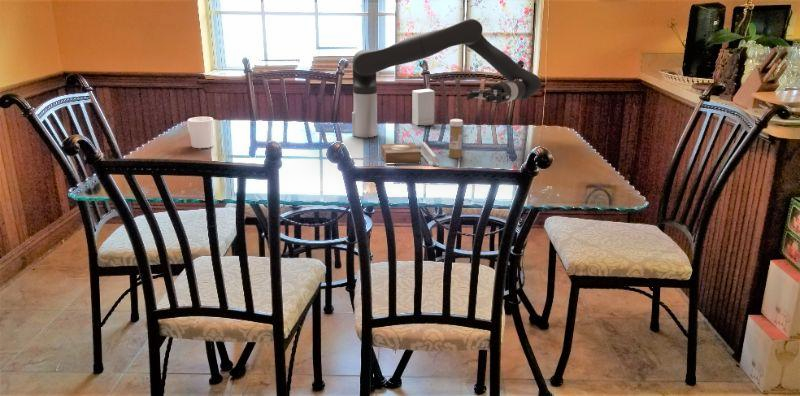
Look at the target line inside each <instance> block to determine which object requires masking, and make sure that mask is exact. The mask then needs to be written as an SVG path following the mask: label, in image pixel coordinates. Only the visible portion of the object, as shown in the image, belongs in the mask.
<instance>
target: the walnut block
mask: <svg viewBox="0 0 800 396" xmlns="http://www.w3.org/2000/svg"><path fill="white" fill-rule="evenodd" d="M420 150H421V149H419V148H418V147H417V145H416V144H415V143H414V142H413V143H410V142H409V143H385V144H381V145H380V155H382V156H381V158H382V157H383V158H384V160H385V161H384V160H383V161H384V163H385V162H386V163H410V164H409V165H411V163H415V164H420V163H419V162H421V163H422V155H421V151H420ZM383 158H382V159H383ZM386 163H385V164H386Z"/></svg>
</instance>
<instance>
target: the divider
mask: <svg viewBox="0 0 800 396" xmlns="http://www.w3.org/2000/svg"><path fill="white" fill-rule="evenodd" d="M419 150H420V151H421V157H422V158H423V160H424V161H425V162H426V161H427V162H428V163H427V162H426V163H427V164H428V166H429V165H430V166H429V167H439V166H440V164H439V163H438V162H437V155H436V154H435V153H434V151H433V150H432V149H431V148H430V147H429V146H428V144H427V143H426V142H425V141H420V149H419Z"/></svg>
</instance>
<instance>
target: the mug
mask: <svg viewBox="0 0 800 396" xmlns="http://www.w3.org/2000/svg"><path fill="white" fill-rule="evenodd" d="M186 126H187V130H188V131H187V132H188V133H189V136H190V143H191V144H190V145H191V147H192V148H193V147H195V148H208V149H211V148H210V147H212V148H213V146H215V127H214V126H215V125H214V118H213V117H210V116H195V117H190V118H188V119H187V121H186Z"/></svg>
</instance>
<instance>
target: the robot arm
mask: <svg viewBox="0 0 800 396" xmlns="http://www.w3.org/2000/svg"><path fill="white" fill-rule="evenodd" d="M459 45H464V46H465V47H467V48H468V49H470V50H472V51H473V52H475V53H476V54H477V55H479V56H480V57H482V59H484V60H485V61H486V62H487V63H488V64H489V65H490V66H491V67H492V68H493V69H495V70H496V71H497V72H498V73H499V74H500V75H501V76H502V77H503V78H504V79H506V80H505V81H501V82H496V83H493V84H492V85H491V86H490V87H489V88H485V89H482V88H476V89H470V90H469V92H467V94H466V99H467V100H473V99H478V100H485V103H494V104H500V105H501V104H503V103H507V102H511V101H513V100H521V101H526V100H528V99H530V98H531V97H533V95H535V94H536V92H538V91H539V90H540V89H541V88H542V80H541V78H540V77H539V76H538V75H536V74H535V73H533V72H531V71H529V70H527V69H525V68H523V66H520V65H519V64H518V63H517V62H516V61H515V60H514V59H512V58H511V57H510V56H509V55H508V54H506V53H505V52H504V51H503V50H500V49H499V48H497V47H496V46H494V45H493V44H492V43H490V42H489V40H487V39H486V38H485V36H484V35H483V26H482V24H481V22H480V21H479V20H477V19H474V18H467V19H464V20H461V21H459V22H458V23H455V24H453V25H450V26H447V27H445V28H440V29H436V30H431V31H426V32H423V33H418V34H416V35H412V36H409V37H406V38H403V39H402V40H399V41H398V42H396V43H393V44H392V45H390V46H388V47H384V48H382V49H376V50H372V51H371V50H370V51H369V50H366V49H362V50H359V51H357V52H356V53H355V54H354V56H353V58H352V89H353V91H352V94H353V111H352V112H351V124H352V125H351V126H352V127H351V128H352V129H351V130H352V133H351V134H352V137H356V138H363V139H364V138H367V139H368V137H369V138H374V136H375V137H376V136H378V87H377V85H378V83H377V73H378V72H381V71H384V70H385V69H388V68H391V67H395V66H399V65H405V64H408V63H413V62H416V61H420V60H423V59H426V58H429V57H432V56H434V55H436V54H438V53H440V52H442V51H444V50H446V49H449V48H452V47H455V46H459ZM517 79H520V80H517Z"/></svg>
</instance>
